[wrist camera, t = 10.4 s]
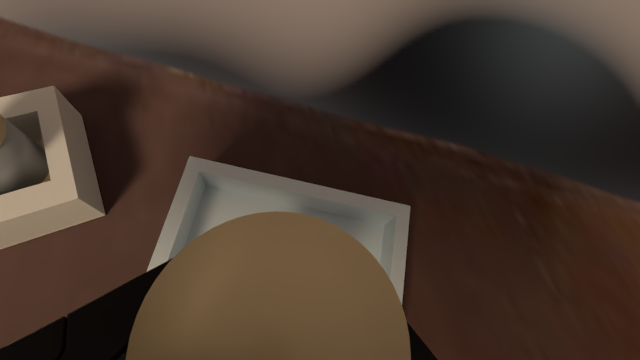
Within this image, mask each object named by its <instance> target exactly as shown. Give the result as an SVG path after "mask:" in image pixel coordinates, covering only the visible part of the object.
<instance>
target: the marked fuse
mask: <svg viewBox="0 0 640 360" xmlns="http://www.w3.org/2000/svg"><path fill="white" fill-rule="evenodd" d="M126 360H411V351H410V337H409V332H408V327H407V322H406V317H405V314H404V311H403V308H402V304H401V301H400V299H399V297H398V295H397V292H396V290H395V288H394V285H393V284H392V282H391V280H390V279H389V277H388V275H387V273H386V272H385V270H384V269H383V267H382V266H381V265H380V264H379V262H378V261H377V260H376V258H375V257H374V256H373V255H372V254H371V253H370V252H369V251H368V250H367V249H366V248H365V247H364V246H363V245H362V244H361V243H360V242H359V241H357V240H356V239H355V238H354V237H352V236H351V235H350V234H348V233H347V232H345V231H343V230H342V229H340V228H339V227H337V226H335V225H333V224H330V223H328V222H326V221H324V220H321V219H318V218H315V217H312V216H309V215H304V214H299V213H293V212H278V211H274V212H260V213H255V214H250V215H245V216H241V217H238V218H235V219H232V220H229V221H226V222H224V223H222V224H220V225H218V226H216V227H213V228H211V229H210V230H208V231H207V232H205V233H203V234H202V235H200V236H199V237H197V238H196V239H194V240H193V241H192V242H191V243H189V244H188V245H187V246H186V247H184V248H183V249H182V250H181V251H180V252H179V253H178V254H177V255H176V256H175V257H174V258H173V259H172V260H171V261H170V262H169V263H168V264H167V265H166V267H165V268H164V269H163V271H162V272H161V273H160V274H159V276H158V277H157V278H156V280H155V281H154V283H153V285H152V286H151V288H150V290H149V291H148V293H147V294H146V296H145V298H144V300H143V303H142V305H141V307H140V309H139V311H138V313H137V316H136V319H135V322H134V325H133V328H132V331H131V334H130V338H129V343H128V348H127V353H126Z"/></svg>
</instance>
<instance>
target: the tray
mask: <svg viewBox="0 0 640 360" xmlns="http://www.w3.org/2000/svg"><path fill="white" fill-rule="evenodd" d="M274 211H278V212H293V213H299V214H304V215H309V216H312V217H315V218H318V219H321V220H324V221H326V222H328V223H330V224H333V225H335V226H337V227H339V228H340V229H342V230H343V231H345V232H347V233H348V234H350V235H351V236H352V237H354V238H355V239H356V240H357V241H359V242H360V243H361V244H362V245H363V246H364V247H365V248H366V249H367V250H368V251H369V252H370V253H371V254H372V255H373V256H374V257H375V258H376V260H377V261H378V262H379V264H380V265H381V266H382V267H383V269H384V270H385V272H386V273H387V275H388V277H389V279H390V280H391V282H392V284H393V285H394V288H395V290H396V292H397V295H398V297H399V299H400V301H401V304H402V299H403V288H404V276H405V264H406V253H407V241H408V230H409V218H410V206H408V205H404V204H400V203H395V202H391V201H386V200H382V199H378V198H373V197H369V196H364V195H360V194H355V193H351V192H347V191H342V190H338V189H333V188H329V187H325V186H320V185H316V184H311V183H307V182H303V181H298V180H294V179H289V178H285V177H280V176H276V175H272V174H267V173H263V172H258V171H254V170H250V169H245V168H241V167H236V166H232V165H227V164H223V163H219V162H214V161H210V160H205V159H201V158H197V157H192V156H190V157H189V159H188V162H187V165H186V167H185V170H184V173H183V175H182V178H181V181H180V183H179V186H178V189H177V191H176V194H175V197H174V199H173V202H172V205H171V208H170V210H169V213H168V216H167V218H166V221H165V224H164V226H163V229H162V232H161V234H160V237H159V240H158V242H157V245H156V248H155V250H154V253H153V256H152V258H151V261H150V264H149V266H148V269H147V271H149V270H151V269H153V268H155V267H157V266H159V265H161V264H162V263H164V262H166V261H168V260H170V259H172V258H174V257H175V256H176V255H177V254H178V253H179V252H180V251H181V250H182V249H183V248H184V247H186V246H187V245H188V244H189V243H191V242H192V241H193V240H194V239H196V238H197V237H199V236H200V235H202V234H203V233H205V232H207V231H208V230H210V229H211V228H213V227H216V226H218V225H220V224H222V223H224V222H226V221H229V220H232V219H235V218H238V217H241V216H245V215H250V214H255V213H260V212H274Z"/></svg>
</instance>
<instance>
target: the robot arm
mask: <svg viewBox="0 0 640 360" xmlns="http://www.w3.org/2000/svg"><path fill="white" fill-rule="evenodd" d="M172 259H173V258H172ZM172 259H170V260H168V261H166V262H164V263H162V264H161V265H159V266H157V267H155V268H153V269H151V270H149V271H147V272H146V273H144V274H142V275H140V276H138V277H136V278H134V279H132V280H131V281H129V282H127V283H125V284H123V285H121V286H119V287H117V288H116V289H114V290H112V291H110V292H108V293H106V294H104V295H102V296H100V297H99V298H97V299H95V300H93V301H91V302H89V303H87V304H85V305H84V306H82V307H80V308H78V309H76V310H74V311H72V312H70V313H69V314H67V319H66V317H65V316H63V317H61V318H59V319H57V320H55V321H53V322H51V323H49V324H48V325H46V326H44V327H42V328H40V329H38V330H36V331H34V332H32V333H30V334H28V335H26V336H24V337H22V338H20V339H18V340H16V341H14V342H12V343H11V344H9V345H7V346H5V347H2V348H0V360H126V353H127V348H128V343H129V338H130V334H131V331H132V328H133V325H134V322H135V319H136V316H137V313H138V311H139V309H140V307H141V305H142V303H143V300H144V298H145V296H146V294H147V293H148V291H149V290H150V288H151V286H152V285H153V283H154V281H155V280H156V278H157V277H158V276H159V274H160V273H161V272H162V271H163V269H164V268H165V267H166V265H167V264H168V263H169V262H170V261H171V260H172ZM406 322H407V321H406ZM407 327H408V332H409V337H410V351H411V360H437V359H436V357H435V356H434V355H433V354H432V352H431V351H430V350H429V349H428V347H427V346H426V345H425V344H424V342H423V341H422V340H421V339H420V337H419V336H418V335H417V334H416V332H415V331H414V330H413V329H412V327H411V326H410V325H409V324H408V322H407Z"/></svg>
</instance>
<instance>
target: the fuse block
mask: <svg viewBox="0 0 640 360" xmlns="http://www.w3.org/2000/svg"><path fill="white" fill-rule="evenodd" d="M0 114H1V115H2V116H3V117H4V118H5V119H6V120H8V121H9V122H10V123H11V124H13V125H14V126H15V127H17V128H18V129H19V130H20V131H22V132H23V133H24V134H26V135H27V136H28V137H29V138H31V139H32V140H33V141H35V142H36V143H37V144H40V145H41V146H43V147H44V148H45V153H46V158H47V163H48V168H49V174H50V179H51V181H47V182H44V183H40V184H37V185H33V186H30V187H26V188H23V189H20V190H16V191H13V192H9V193H6V194H2V195H0V249H3V248H6V247H9V246H12V245H16V244H19V243H22V242H25V241H28V240H31V239H34V238H37V237H40V236H43V235H46V234H49V233H52V232H56V231H59V230H62V229H65V228H68V227H71V226H74V225H77V224H80V223H83V222H86V221H89V220H92V219H95V218H99V217H102V216H105V211H104V207H103V202H102V198H101V194H100V190H99V186H98V182H97V177H96V173H95V169H94V165H93V161H92V156H91V152H90V148H89V144H88V140H87V135H86V131H85V127H84V123H83V119H82V116H81V114H80V113H79V112H78V111H77V110H76V109H75V108H74V107H73V106H72V105H71V104H70V103H69V102H68V100H67V99H66V98H65V97H64V96H63V95H62V94H61V93H60V92H59V91H58V90H57V89H56V88H55V87H54V86H50V87H45V88H41V89H36V90H32V91H28V92H23V93H19V94H14V95H10V96H5V97H1V98H0Z"/></svg>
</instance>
